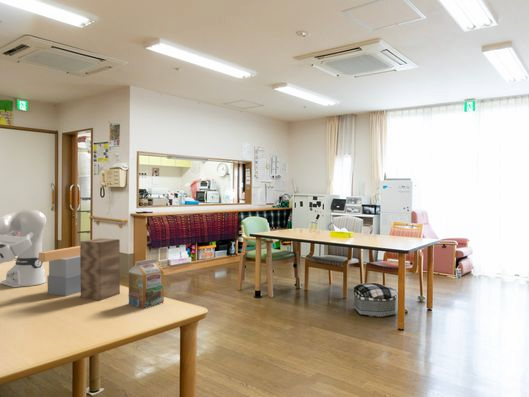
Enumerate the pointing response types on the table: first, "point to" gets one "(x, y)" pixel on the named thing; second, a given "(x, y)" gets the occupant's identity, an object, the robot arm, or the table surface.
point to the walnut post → (100, 268)
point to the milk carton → (146, 284)
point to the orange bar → (59, 254)
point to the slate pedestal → (64, 276)
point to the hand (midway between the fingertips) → (23, 232)
